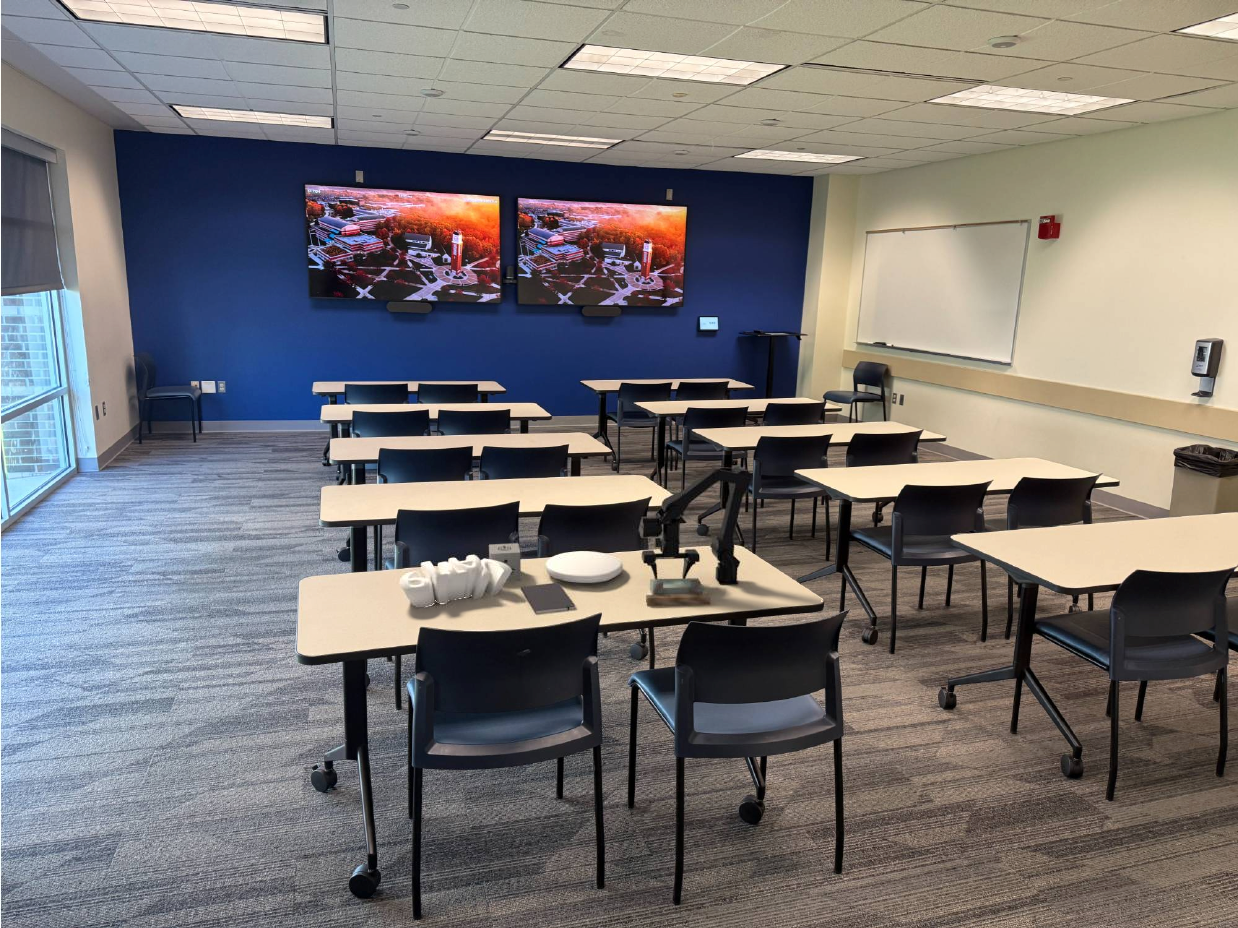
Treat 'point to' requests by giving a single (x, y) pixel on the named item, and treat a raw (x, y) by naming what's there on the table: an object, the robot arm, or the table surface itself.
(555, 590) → the notebook
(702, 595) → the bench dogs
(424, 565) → the white wavy slab sculpture
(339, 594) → the table surface
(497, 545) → the icon cube
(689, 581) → the painted plate block
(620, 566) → the plate
